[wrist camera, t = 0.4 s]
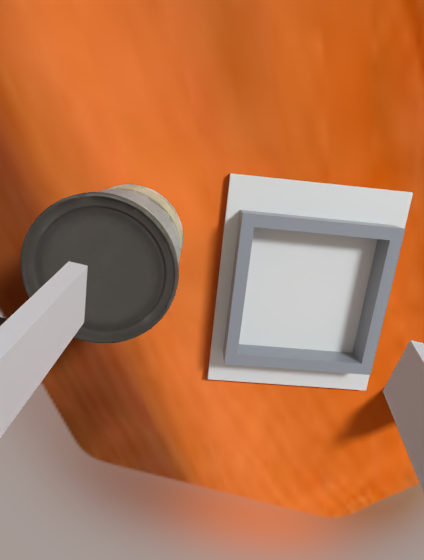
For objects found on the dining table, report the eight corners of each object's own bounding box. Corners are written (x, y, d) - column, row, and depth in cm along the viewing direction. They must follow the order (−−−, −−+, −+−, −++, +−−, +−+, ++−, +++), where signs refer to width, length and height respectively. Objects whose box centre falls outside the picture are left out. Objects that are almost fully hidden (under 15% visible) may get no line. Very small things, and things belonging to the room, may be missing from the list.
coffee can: (179, 289, 41) (171, 350, 28) (79, 280, 40) (20, 337, 27) (189, 189, 38) (185, 202, 25) (81, 177, 38) (17, 183, 24)
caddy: (229, 173, 38) (232, 174, 35) (408, 192, 39) (427, 194, 36) (207, 375, 44) (208, 391, 41) (363, 386, 45) (375, 403, 42)
